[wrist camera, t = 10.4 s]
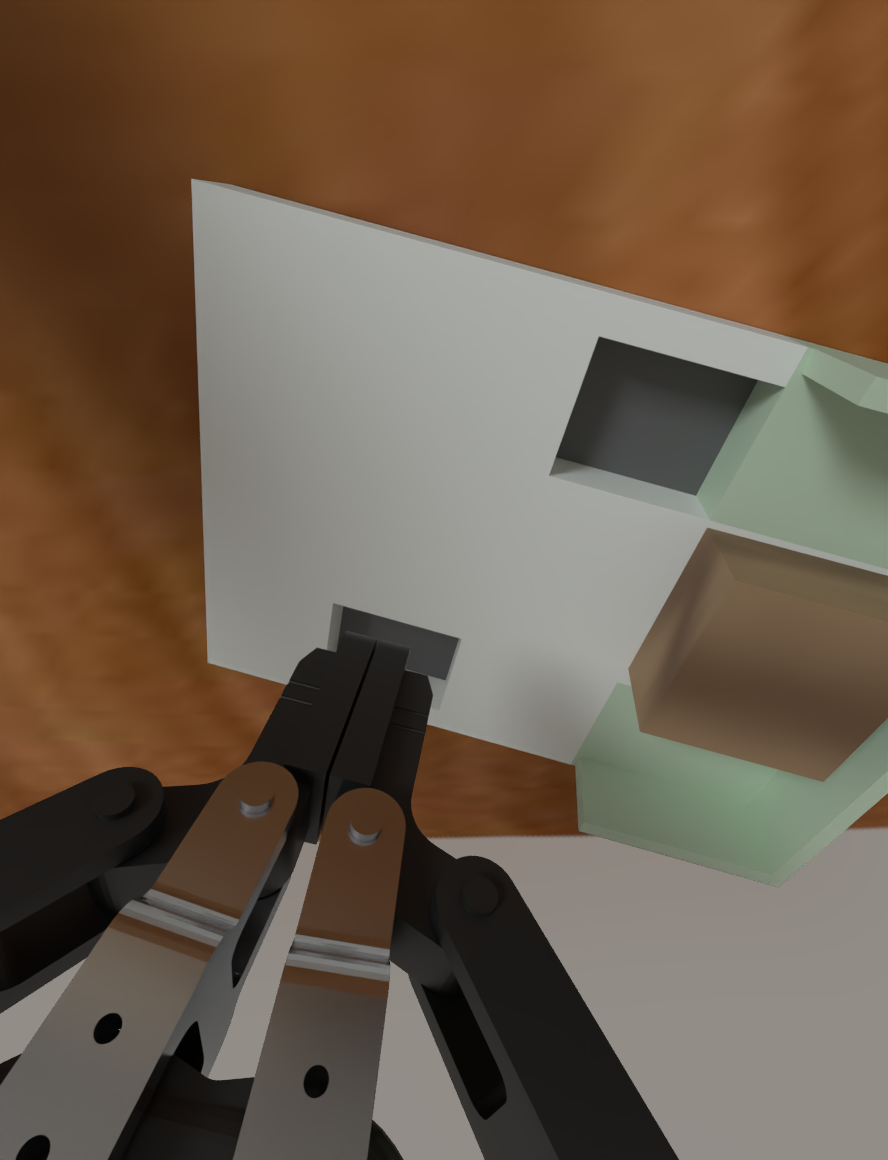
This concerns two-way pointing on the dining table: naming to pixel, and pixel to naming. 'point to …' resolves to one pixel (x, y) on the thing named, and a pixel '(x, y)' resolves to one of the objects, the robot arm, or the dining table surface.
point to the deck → (517, 498)
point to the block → (766, 657)
